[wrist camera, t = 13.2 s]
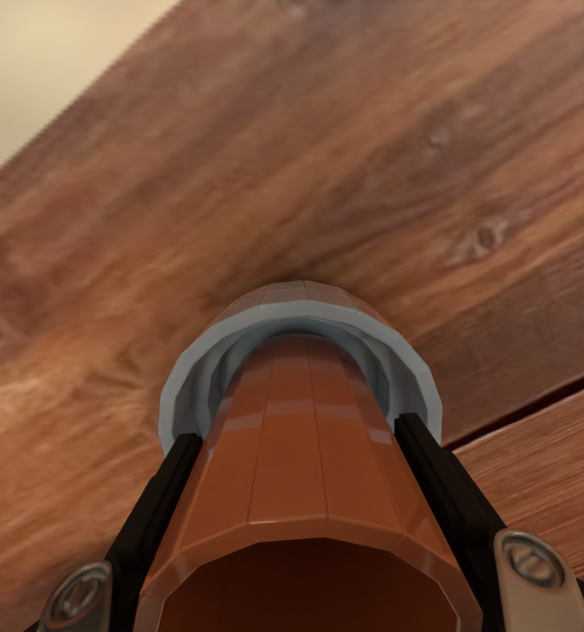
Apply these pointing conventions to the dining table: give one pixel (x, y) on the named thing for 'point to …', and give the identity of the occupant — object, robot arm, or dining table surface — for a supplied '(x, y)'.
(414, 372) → the bowl
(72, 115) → the dining table surface
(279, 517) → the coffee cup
